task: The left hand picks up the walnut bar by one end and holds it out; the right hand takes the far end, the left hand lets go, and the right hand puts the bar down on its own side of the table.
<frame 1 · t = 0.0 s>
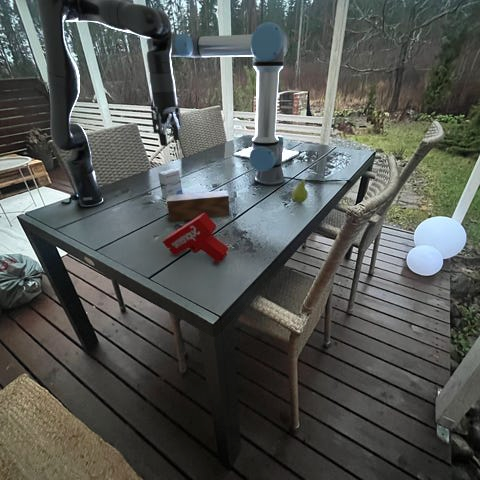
left hand: (170, 142, 94), 29 cm above the table, tool pointing down, fingers open, 8 cm apart
right hand: (167, 124, 132), 28 cm above the table, tool pointing down, fingers open, 13 cm apart
white printed flat box: (266, 155, 186), on the table
ink box: (172, 196, 128), on the table
fruit: (299, 202, 122), on the table
toy gun: (196, 255, 88), on the table
bar: (199, 215, 112), on the table
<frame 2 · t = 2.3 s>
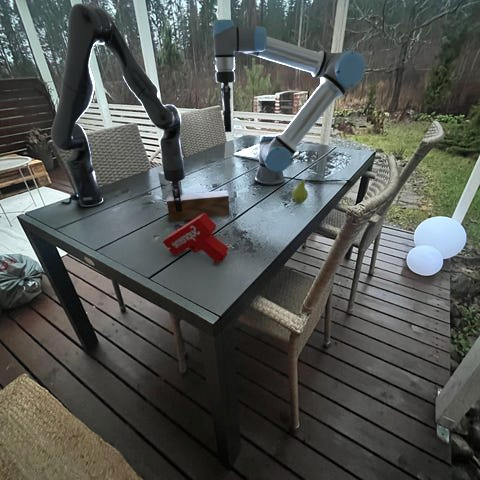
left hand: (179, 207, 108), 4 cm above the table, tool pointing down, fingers closed on bar, 6 cm apart
right hand: (227, 128, 117), 29 cm above the table, tool pointing down, fingers open, 13 cm apart
bar: (199, 215, 112), on the table, touching left hand
everything else where it was.
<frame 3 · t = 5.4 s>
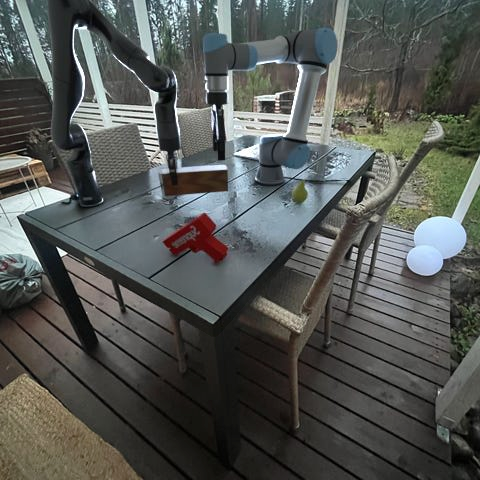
left hand: (175, 181, 102), 15 cm above the table, tool pointing down, fingers closed on bar, 6 cm apart
right hand: (218, 155, 102), 23 cm above the table, tool pointing down, fingers open, 13 cm apart
bar: (196, 190, 106), point 11 cm above the table, touching left hand
everything else where it was.
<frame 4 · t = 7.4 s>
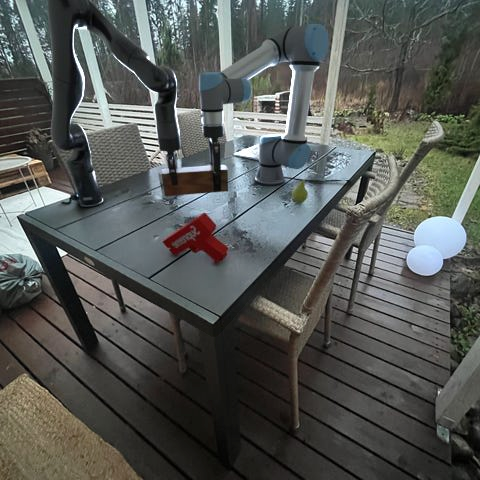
left hand: (175, 181, 102), 15 cm above the table, tool pointing down, fingers closed on bar, 6 cm apart
right hand: (216, 187, 107), 11 cm above the table, tool pointing down, fingers closed on bar, 6 cm apart
bar: (196, 190, 106), point 11 cm above the table, touching right hand, left hand
everything else where it was.
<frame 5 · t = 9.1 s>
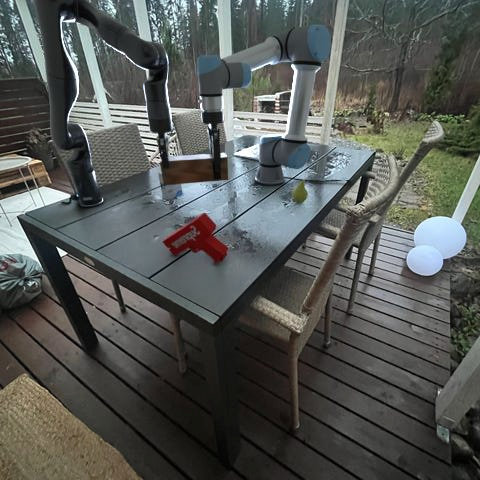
left hand: (166, 164, 98), 22 cm above the table, tool pointing down, fingers open, 8 cm apart
right hand: (216, 176, 104), 16 cm above the table, tool pointing down, fingers closed on bar, 6 cm apart
bar: (196, 179, 103), point 15 cm above the table, touching right hand
everything else where it was.
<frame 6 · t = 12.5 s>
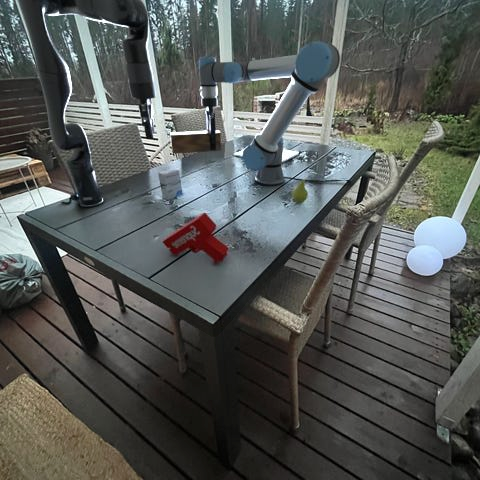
left hand: (150, 136, 92), 32 cm above the table, tool pointing down, fingers open, 8 cm apart
right hand: (212, 148, 138), 17 cm above the table, tool pointing down, fingers closed on bar, 6 cm apart
bar: (196, 150, 137), point 16 cm above the table, touching right hand
everything else where it was.
when the right hand's fingers open (2 cm above the table, at t = 17.5 s): bar drops 2 cm, on the table.
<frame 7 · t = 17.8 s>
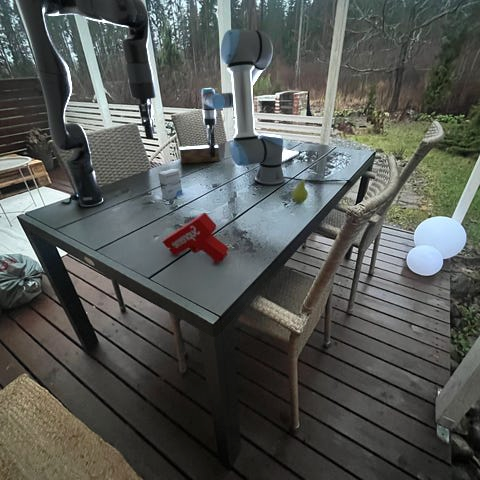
left hand: (150, 136, 92), 32 cm above the table, tool pointing down, fingers open, 8 cm apart
right hand: (211, 154, 175), 3 cm above the table, tool pointing down, fingers open, 10 cm apart
bar: (200, 160, 176), on the table
everything else where it was.
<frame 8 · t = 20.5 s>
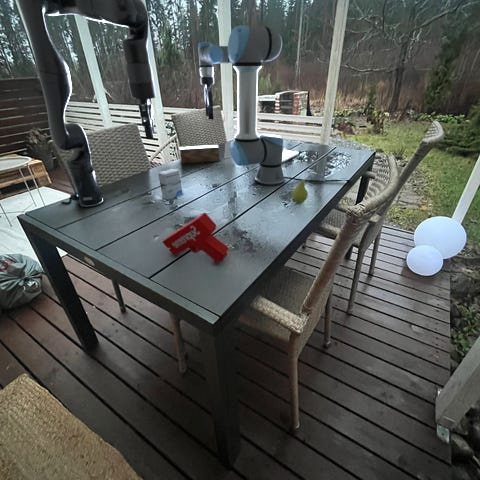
left hand: (150, 136, 92), 32 cm above the table, tool pointing down, fingers open, 8 cm apart
right hand: (209, 117, 163), 26 cm above the table, tool pointing down, fingers open, 13 cm apart
nothing on the table moved.
at the end: bar inside the target area (7.8 cm from its centre), on the table; the left hand is holding nothing; the right hand is holding nothing; bar at rest at the end (0.0 cm/s) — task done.
